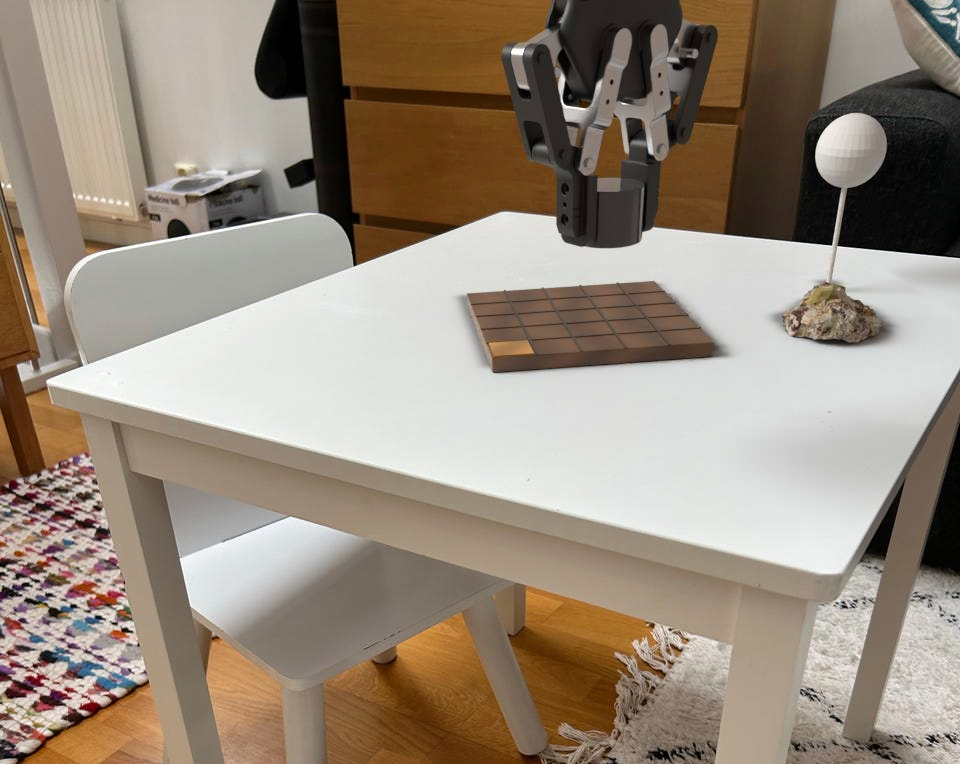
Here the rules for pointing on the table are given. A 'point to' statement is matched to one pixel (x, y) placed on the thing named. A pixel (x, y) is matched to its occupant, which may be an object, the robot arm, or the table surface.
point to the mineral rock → (831, 316)
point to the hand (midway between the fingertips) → (607, 234)
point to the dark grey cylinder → (619, 212)
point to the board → (583, 326)
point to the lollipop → (849, 159)
